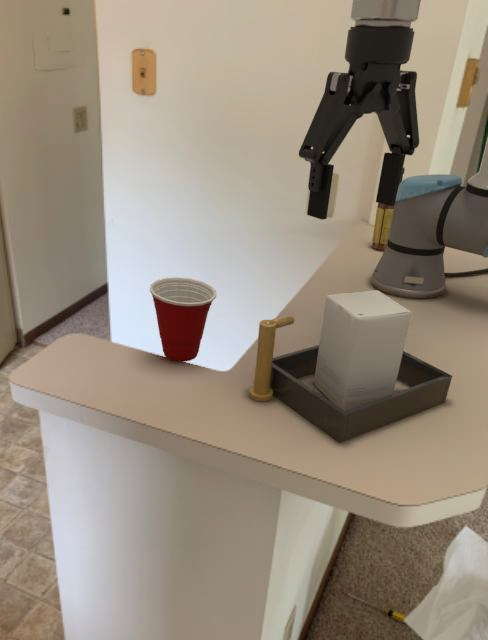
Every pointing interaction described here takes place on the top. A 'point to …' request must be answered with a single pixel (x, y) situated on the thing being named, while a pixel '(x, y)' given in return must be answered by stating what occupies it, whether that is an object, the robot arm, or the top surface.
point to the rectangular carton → (360, 347)
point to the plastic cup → (181, 315)
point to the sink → (327, 416)
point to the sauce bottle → (383, 223)
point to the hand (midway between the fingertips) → (352, 210)
